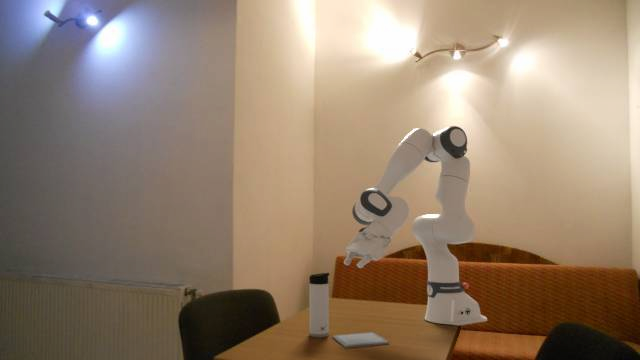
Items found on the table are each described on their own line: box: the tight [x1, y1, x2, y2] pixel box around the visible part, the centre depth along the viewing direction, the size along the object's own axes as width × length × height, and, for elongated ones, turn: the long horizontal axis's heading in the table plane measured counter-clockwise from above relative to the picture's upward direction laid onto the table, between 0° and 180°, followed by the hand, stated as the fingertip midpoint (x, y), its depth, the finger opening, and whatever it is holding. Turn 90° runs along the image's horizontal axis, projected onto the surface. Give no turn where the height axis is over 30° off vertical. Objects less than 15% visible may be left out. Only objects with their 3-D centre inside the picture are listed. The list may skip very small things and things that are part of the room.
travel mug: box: [308, 272, 330, 339], centre depth 149 cm, size 6×7×20 cm
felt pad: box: [331, 331, 390, 349], centre depth 141 cm, size 14×12×1 cm
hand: (351, 265), depth 155 cm, fingers open, 8 cm apart
